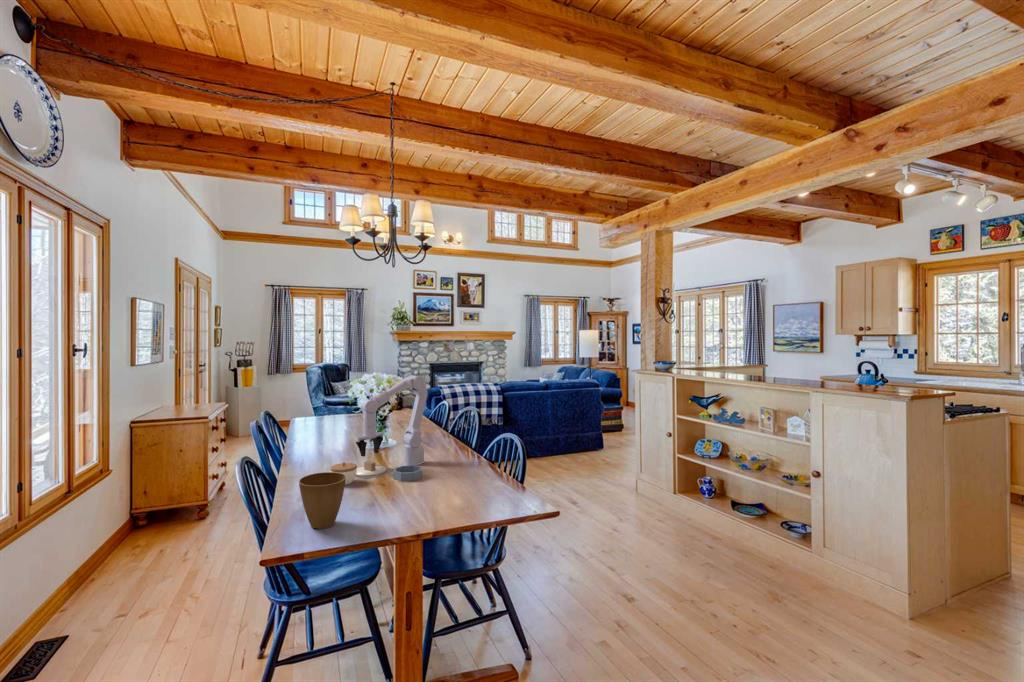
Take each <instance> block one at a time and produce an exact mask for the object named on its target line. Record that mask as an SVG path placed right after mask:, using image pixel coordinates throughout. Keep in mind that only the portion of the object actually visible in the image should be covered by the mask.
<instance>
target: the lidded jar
mask: <svg viewBox="0 0 1024 682" xmlns="http://www.w3.org/2000/svg"><path fill="white" fill-rule="evenodd" d="M357 468H358V466H357V464H356V463H353V462H344V461H343V462H342V463H337V464H333V465H332V466H330V472H336V473H342V474H344V475H345V476H346V481H345V486H349V485H351V484H352V483H353V482H354V481H355V479H356V478H357V477H356V472H357Z"/></svg>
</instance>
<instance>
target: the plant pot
mask: <svg viewBox="0 0 1024 682" xmlns="http://www.w3.org/2000/svg"><path fill="white" fill-rule="evenodd" d="M345 481H346V476H345V475H344V474H342V473H336V472H331V471H329V472H328V471H326V472H324V471H323V472H316V473H311V474H308V475H305V476H302V477H301V478H300V479H299V480H298V486H299V491H300V495H301V496H300V497H301V502H302V505H303V508H304V511H305V514H306V518H307V520H308V524H309V525H310V527H311V528H312V527H313V528H312V529H314V528H324V529H328V528H331V527H332V526H334V525H335V523H336V520H337V517H338V514H339V512H340V509H341V505H342V500H343V496H344V492H345V486H346V485H345ZM330 526H331V527H330ZM327 527H328V528H327Z"/></svg>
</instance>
